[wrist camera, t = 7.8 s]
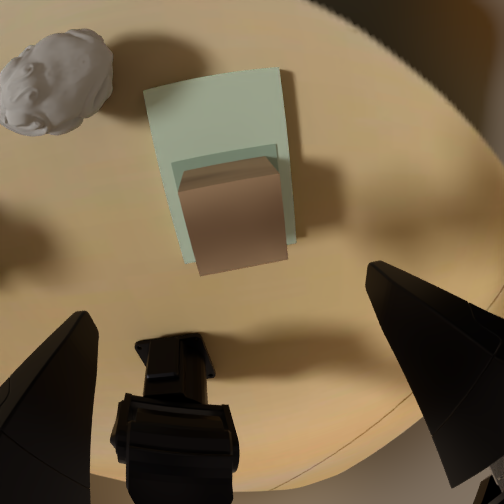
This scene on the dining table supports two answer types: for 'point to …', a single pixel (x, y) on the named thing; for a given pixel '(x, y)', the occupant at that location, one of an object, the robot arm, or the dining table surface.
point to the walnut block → (234, 215)
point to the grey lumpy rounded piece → (56, 83)
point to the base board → (219, 133)
